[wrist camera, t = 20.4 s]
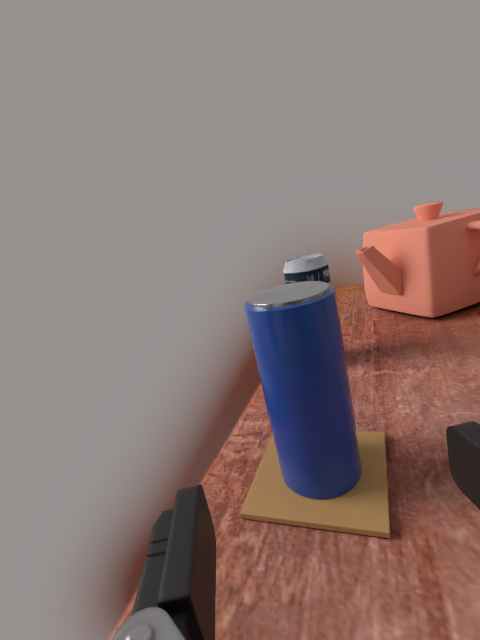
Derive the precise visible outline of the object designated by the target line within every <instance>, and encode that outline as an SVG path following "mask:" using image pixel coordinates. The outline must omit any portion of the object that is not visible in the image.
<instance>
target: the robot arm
mask: <svg viewBox="0 0 480 640" xmlns="http://www.w3.org/2000/svg"><path fill="white" fill-rule="evenodd" d="M446 436H447V446H448V456H449V465H450V471H451V475H452V477H453V479H454V481H455V483H456V485H457V486H458V488H459V489H460V490H461V491H462V492H463V493H464V494H465V495H466V496H467V497H468V498H469V499H470V500H471V501H472V502H473V503H474V504H475V505H476V506H477V507H478V508H479V509H480V425H479V424H478V423H476V422H467V423H463V424H459V425H454V426H450V427H448V428H447V430H446ZM215 591H216V538H215V531H214V526H213V522H212V519H211V515H210V512H209V508H208V504H207V501H206V497H205V494H204V490H203V488H202V486H201V485H197V486H192V487H188V488H184V489H180V490H178V491H177V494H176V499H175V505H174V509H171V510H167V511H163V512H162V514H161V515H160V517H159V518H158V520H157V521H156V523H155V525H154V526H153V529H152V534H151V538H150V545H149V546H148V550H147V554H146V559H145V563H144V567H143V571H142V575H141V579H140V583H139V587H138V591H137V596H136V600H135V604H134V608H133V612H132V615H131V616H130V617H129V618H128V619H127V620H126V621H125V622H124V623H123V624H122V625H121V626H120V628H119V629H118V630H117V632H116V633H115V635H114V637H113V639H112V640H215Z"/></svg>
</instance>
